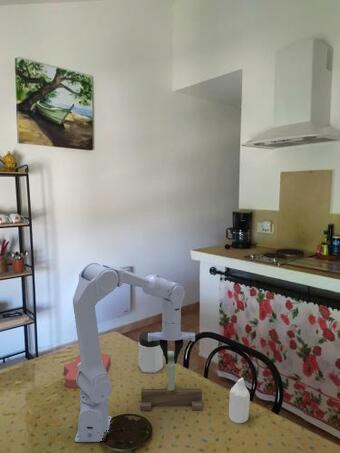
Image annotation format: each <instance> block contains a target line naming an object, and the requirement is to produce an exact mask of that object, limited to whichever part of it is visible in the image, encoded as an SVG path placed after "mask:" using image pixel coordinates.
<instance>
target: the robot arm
mask: <svg viewBox="0 0 340 453" xmlns="http://www.w3.org/2000/svg"><path fill="white" fill-rule="evenodd" d="M123 284H125V285H126V284H127V285H130V286H134V287H137V288H141V289H142V292H143V293H144V294H146V295H149V296H151V297H156V298H159V299H162V303H161V304H162V306H161V307H162V308H161V309H162V312H161V314H162V317H161V318H162V319H161V320H162V322H161V323H162V325H161V326H162V328H161V329H162V330H161V331H155V333H148V341H152V340H160V347H161V349H162V351H163V357H164V359H165V365H167V364H168V351H169V350H168V349H169V347H168V346H169V344H168V341H171V342H172V341H173V342H174V361H175V365H177V362H178V358H179V355H180V352H181V351H182V350H183V347H184V341H191V342H195V341H196V334H195V332H189V331H187V332H186V331H181V327H182V326H181V325H182V320H181V319H182V306H183V301H184V300H185V297H186V291H185V289H184V287H183V285H182V284H180V283H178V282H174V281H172V279H170V278H163V277H161V275H159V274H156V273H153V274H148V275H146V276H142V275H140V274H136V273H134V272H131V271H129V270H126V269H123V268H120V267H118V266H113V265H109V264H108V265H107V264H102V265H100V264H99V263H98V262H92V263H91V262H90V263H89V264H87V265H86V266H85V267H84V268H83V269H82V270H81V271H80V273H78V283H77V285H76V288H75V291H74V295H73V297H72V306H73V307H72V308H73V313H74V321H75V329H76V335H77V341H78V342H77V343H78V350H79V355H80V358H81V363H80V364H79V365H78V374H77V378H76V382H77V385H78V386H79V387H80V388H79V389H80V394H79V409H80V411H79V412H80V413H79V415H78V419H77V428H78V429H77V433H76V434H75V438H74V442H75V443H91V442H93V443H94V442H95V443H98V442H100V441H102V438H103V435H104V432H106V430H107V432H108V433H109V431H110V426H111V422H112V416H111V415H109V397H110V395H111V394H112V391H113V384H112V381H111V380H110V379H109V376H108V371H107V372H106V370H105V367H104V365H103V363H102V359H101V354H102V352H101V344H100V337H99V328H98V322H97V314H96V313H97V312H96V305H97V304H98V303H99V302H100V301H101V300H103V299H104V298H106V297H107V296H109V295H110V294H111V293H112V292H114V291H115V290H116V288H117V287H118V288H121V287H122V286H123ZM110 421H111V422H110ZM108 430H109V431H108ZM100 443H101V442H100Z"/></svg>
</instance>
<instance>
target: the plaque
mask: <svg viewBox="0 0 340 453" xmlns="http://www.w3.org/2000/svg"><path fill="white" fill-rule="evenodd" d="M101 359H102V363H103V365H104V367H105V370H106V372H107V373H108V371H109V368H110V365H111V355H110V354H103V353H101ZM80 363H81V358H80V354H79V355H77V357H76V358H75V360H74V361H73V360H72V362H69V363H66V364H64V365H63V374H64V376H65V377H64V379H65V382H64V384H65V387H67V388H69V389H81V388H80V387H79V386H78V385H77V382H76V378H77V374H78V365H79V364H80Z"/></svg>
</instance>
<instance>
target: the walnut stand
mask: <svg viewBox="0 0 340 453" xmlns="http://www.w3.org/2000/svg"><path fill="white" fill-rule="evenodd" d="M175 389H176V390H175V391H176V392H174V393H173V392H172V393H171V392H170V393H167V390H168V388H141V390H140V392H141V394H140V396H141V397H140V398H141V399H140V401H141V402H140V411H141V412H151V411H152V407H188V406H189V407H191V410H192V411H194V412H195V411H203V406H204V405H203V402H202V401H203V400H202V398H203V391H202V388H175Z"/></svg>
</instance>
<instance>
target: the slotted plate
mask: <svg viewBox="0 0 340 453" xmlns="http://www.w3.org/2000/svg"><path fill="white" fill-rule="evenodd" d="M174 353H175V350H168V364H166V365H167V371H166V372H167V374H166V375H167V390H168V391H176V390H175V389H176V387H175V386H176V384H175V383H176V364H175V361H174Z"/></svg>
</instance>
